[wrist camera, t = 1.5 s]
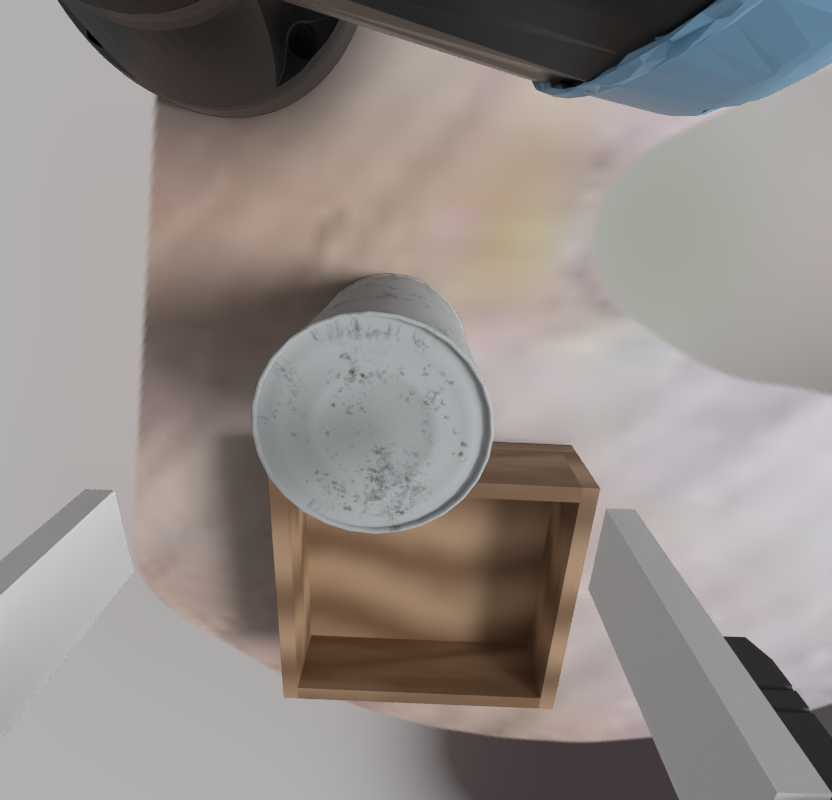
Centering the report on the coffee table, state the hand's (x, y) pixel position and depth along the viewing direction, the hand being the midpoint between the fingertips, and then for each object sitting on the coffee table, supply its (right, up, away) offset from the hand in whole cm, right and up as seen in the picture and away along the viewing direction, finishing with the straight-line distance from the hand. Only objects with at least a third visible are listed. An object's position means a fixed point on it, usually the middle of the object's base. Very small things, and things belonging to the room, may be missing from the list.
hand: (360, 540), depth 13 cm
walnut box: (+2, -7, +23) cm, 24 cm away
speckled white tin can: (0, +7, +17) cm, 19 cm away
